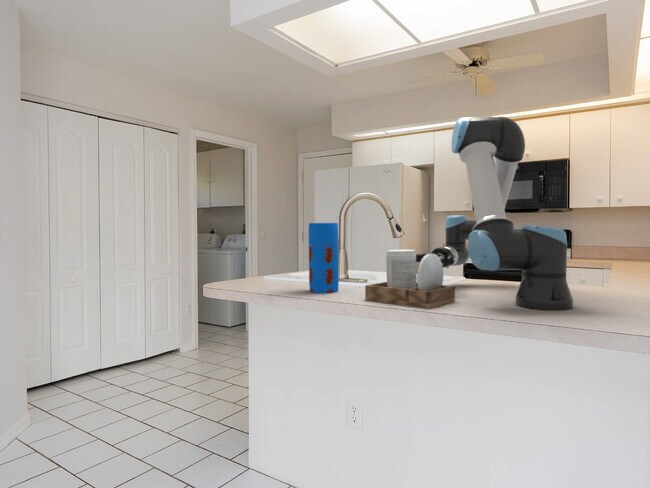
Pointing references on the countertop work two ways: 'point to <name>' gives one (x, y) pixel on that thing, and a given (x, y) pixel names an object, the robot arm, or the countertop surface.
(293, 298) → the countertop surface
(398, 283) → the supplement tub
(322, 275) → the thermos
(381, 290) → the rack
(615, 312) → the countertop surface
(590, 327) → the countertop surface
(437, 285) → the plate
